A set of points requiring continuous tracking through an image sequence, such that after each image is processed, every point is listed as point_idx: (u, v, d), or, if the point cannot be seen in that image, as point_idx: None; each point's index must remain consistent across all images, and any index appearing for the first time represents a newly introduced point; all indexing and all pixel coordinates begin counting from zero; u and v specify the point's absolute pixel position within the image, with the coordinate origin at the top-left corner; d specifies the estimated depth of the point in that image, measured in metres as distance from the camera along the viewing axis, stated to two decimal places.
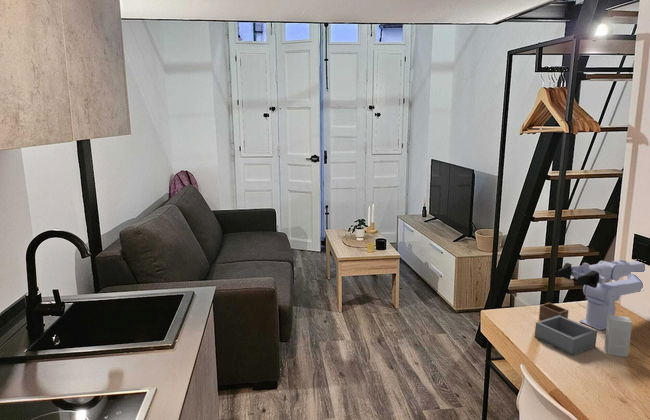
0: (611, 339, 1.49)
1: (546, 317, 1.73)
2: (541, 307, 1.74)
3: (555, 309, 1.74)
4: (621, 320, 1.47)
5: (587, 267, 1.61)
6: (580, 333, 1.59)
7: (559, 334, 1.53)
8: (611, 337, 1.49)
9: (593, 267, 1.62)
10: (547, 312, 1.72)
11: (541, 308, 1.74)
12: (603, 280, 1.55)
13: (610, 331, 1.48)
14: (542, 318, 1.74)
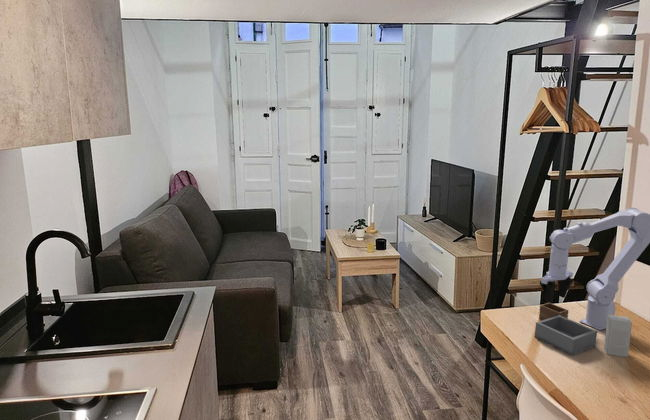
0: (611, 339, 1.49)
1: (546, 317, 1.73)
2: (541, 307, 1.74)
3: (555, 309, 1.74)
4: (621, 320, 1.47)
5: None
6: (580, 333, 1.59)
7: (559, 334, 1.53)
8: (611, 337, 1.49)
9: None
10: (547, 312, 1.72)
11: (541, 308, 1.74)
12: (542, 281, 1.67)
13: (610, 331, 1.49)
14: (542, 318, 1.74)
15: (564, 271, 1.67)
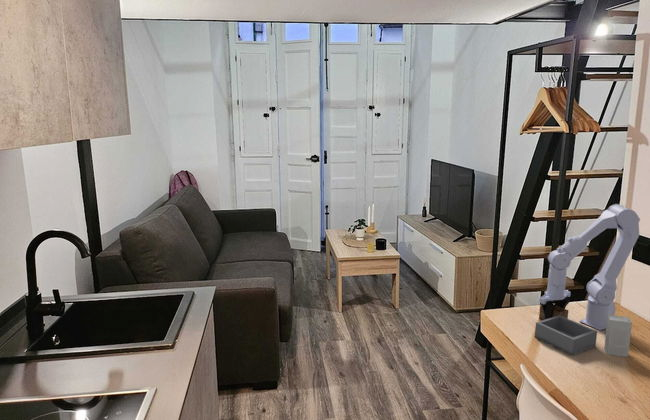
0: (611, 339, 1.49)
1: None
2: (541, 307, 1.74)
3: (555, 309, 1.74)
4: (621, 320, 1.47)
5: None
6: (580, 333, 1.59)
7: (559, 334, 1.53)
8: (611, 337, 1.49)
9: None
10: None
11: (541, 308, 1.74)
12: (541, 301, 1.69)
13: (610, 331, 1.49)
14: (542, 318, 1.74)
15: (562, 291, 1.68)
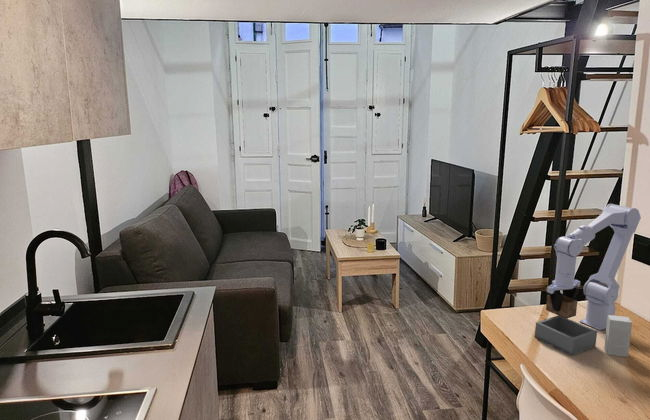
0: (611, 339, 1.49)
1: None
2: (548, 297, 1.64)
3: (563, 300, 1.64)
4: (621, 320, 1.47)
5: None
6: (580, 333, 1.59)
7: (559, 334, 1.53)
8: (611, 337, 1.49)
9: None
10: None
11: (548, 298, 1.64)
12: (548, 290, 1.58)
13: (610, 331, 1.48)
14: (549, 309, 1.64)
15: (571, 280, 1.58)
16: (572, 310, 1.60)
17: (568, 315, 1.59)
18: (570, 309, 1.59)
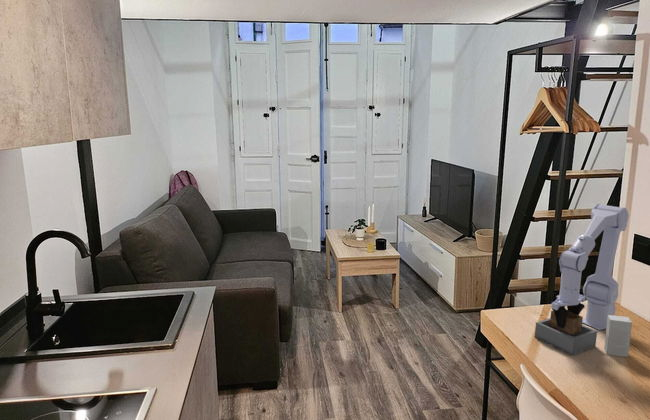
0: (611, 339, 1.49)
1: None
2: (552, 313, 1.59)
3: (568, 315, 1.59)
4: (621, 320, 1.47)
5: None
6: (580, 333, 1.59)
7: (559, 334, 1.53)
8: (611, 337, 1.49)
9: None
10: None
11: (552, 314, 1.59)
12: (553, 306, 1.53)
13: (610, 331, 1.48)
14: (553, 325, 1.59)
15: (576, 296, 1.52)
16: (577, 327, 1.54)
17: (573, 332, 1.54)
18: (575, 326, 1.53)
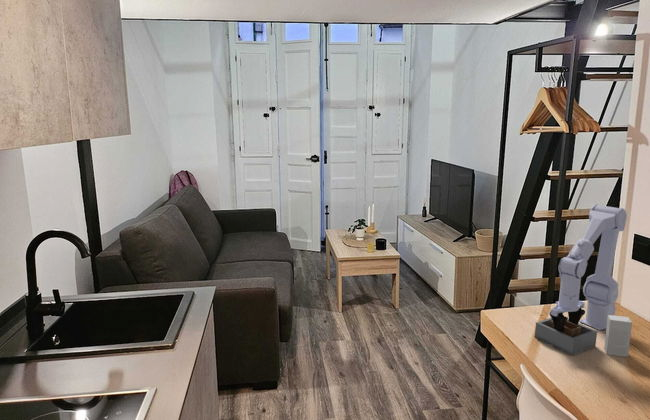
0: (611, 339, 1.49)
1: None
2: (551, 323, 1.59)
3: (567, 325, 1.59)
4: (621, 320, 1.47)
5: None
6: None
7: (559, 334, 1.53)
8: (611, 337, 1.49)
9: None
10: None
11: (551, 324, 1.59)
12: (552, 313, 1.53)
13: (610, 331, 1.49)
14: None
15: (576, 302, 1.53)
16: None
17: None
18: (574, 336, 1.54)
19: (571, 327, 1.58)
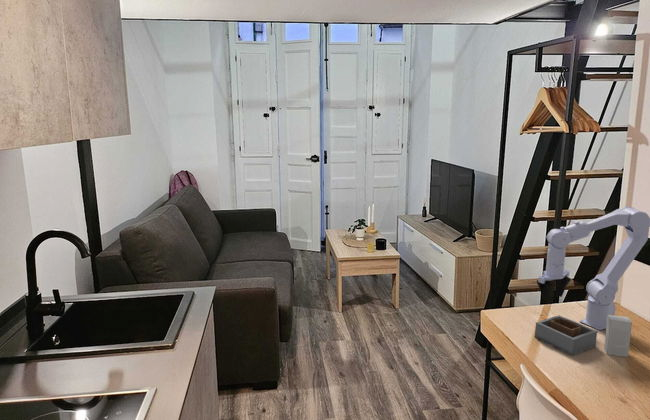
0: (611, 339, 1.49)
1: None
2: (551, 323, 1.59)
3: (567, 325, 1.59)
4: (621, 320, 1.47)
5: None
6: None
7: (559, 334, 1.53)
8: (611, 337, 1.49)
9: None
10: (558, 329, 1.57)
11: (551, 324, 1.59)
12: (540, 280, 1.67)
13: (610, 331, 1.49)
14: None
15: (561, 270, 1.66)
16: None
17: None
18: (574, 336, 1.54)
19: (571, 327, 1.58)
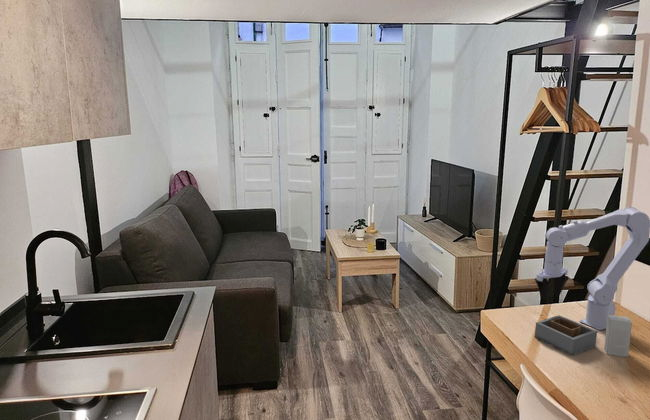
0: (611, 339, 1.49)
1: None
2: (551, 323, 1.59)
3: (567, 325, 1.59)
4: (621, 320, 1.47)
5: None
6: None
7: (559, 334, 1.53)
8: (611, 337, 1.49)
9: None
10: (558, 329, 1.57)
11: (551, 324, 1.59)
12: (538, 278, 1.69)
13: (610, 331, 1.48)
14: None
15: (559, 268, 1.68)
16: None
17: None
18: (574, 336, 1.54)
19: (571, 327, 1.58)
